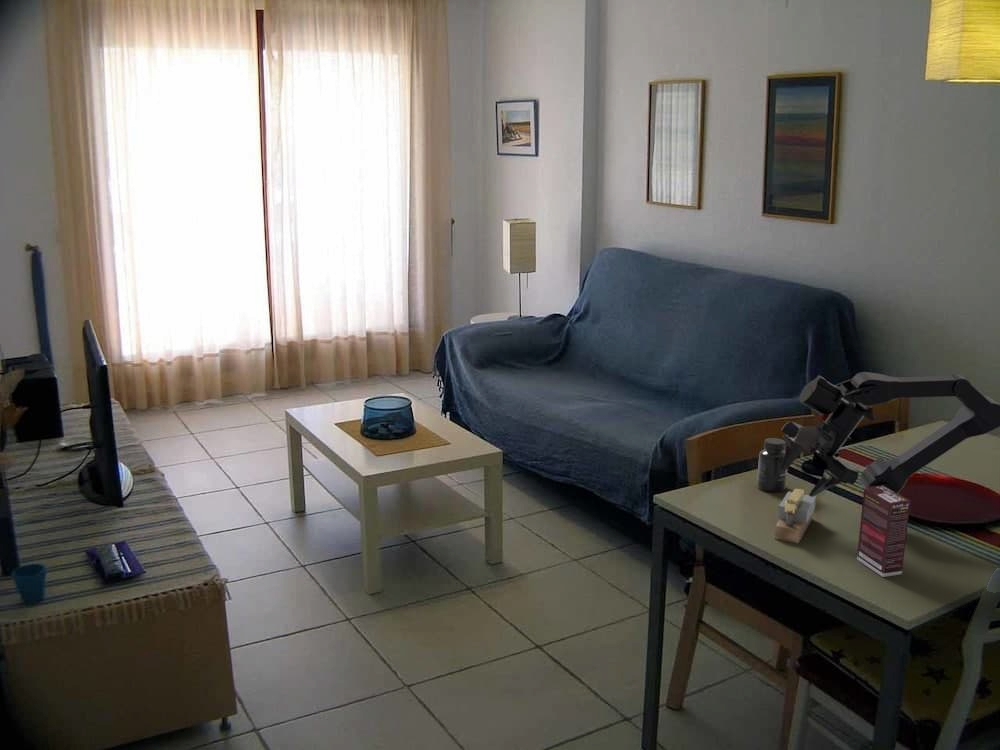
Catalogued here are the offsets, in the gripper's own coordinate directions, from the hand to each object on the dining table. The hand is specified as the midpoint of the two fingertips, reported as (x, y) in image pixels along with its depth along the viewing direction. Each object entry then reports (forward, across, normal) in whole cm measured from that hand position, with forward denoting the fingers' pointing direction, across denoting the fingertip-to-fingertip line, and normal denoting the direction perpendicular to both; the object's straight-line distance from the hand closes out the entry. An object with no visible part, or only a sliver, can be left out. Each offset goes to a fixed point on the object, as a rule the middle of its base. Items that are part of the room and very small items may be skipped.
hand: (796, 483), depth 209 cm
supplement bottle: (+9, -15, +17) cm, 25 cm away
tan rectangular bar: (+4, +3, -1) cm, 5 cm away
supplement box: (+2, +24, +3) cm, 25 cm away
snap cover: (+6, +2, +4) cm, 7 cm away
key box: (+9, +4, +4) cm, 10 cm away
